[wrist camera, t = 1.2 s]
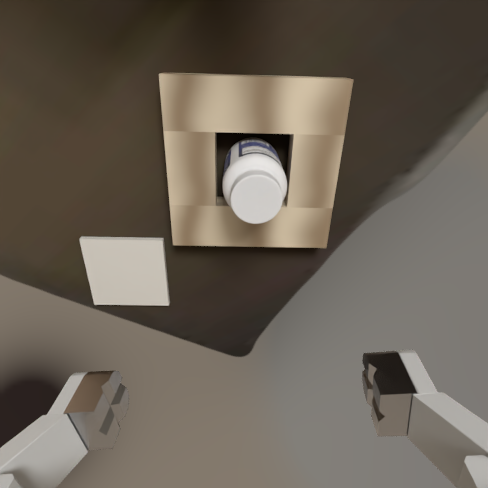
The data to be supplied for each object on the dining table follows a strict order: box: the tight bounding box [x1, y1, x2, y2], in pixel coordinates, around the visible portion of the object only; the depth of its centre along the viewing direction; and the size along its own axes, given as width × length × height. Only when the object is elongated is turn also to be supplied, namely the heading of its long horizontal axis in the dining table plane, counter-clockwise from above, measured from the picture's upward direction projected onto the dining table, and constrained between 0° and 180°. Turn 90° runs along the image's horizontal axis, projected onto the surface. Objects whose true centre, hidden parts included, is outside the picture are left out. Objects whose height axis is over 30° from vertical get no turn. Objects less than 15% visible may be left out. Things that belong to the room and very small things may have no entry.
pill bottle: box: [222, 138, 287, 224], centre depth 30 cm, size 5×5×10 cm
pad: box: [79, 237, 170, 306], centre depth 40 cm, size 9×9×1 cm
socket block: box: [159, 72, 353, 248], centre depth 33 cm, size 16×16×2 cm
